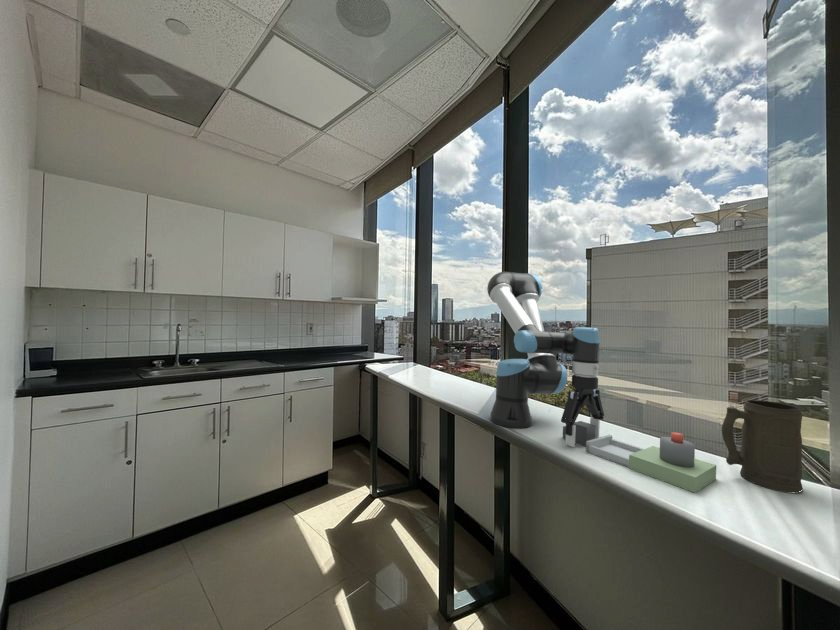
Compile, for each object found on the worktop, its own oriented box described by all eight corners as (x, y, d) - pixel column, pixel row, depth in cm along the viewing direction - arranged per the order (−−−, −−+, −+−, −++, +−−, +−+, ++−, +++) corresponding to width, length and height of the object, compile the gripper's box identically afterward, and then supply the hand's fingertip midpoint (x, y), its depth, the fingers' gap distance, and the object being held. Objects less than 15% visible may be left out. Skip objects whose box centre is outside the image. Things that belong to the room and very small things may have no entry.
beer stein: (775, 474, 87) (771, 398, 87) (821, 495, 76) (816, 409, 76) (713, 473, 88) (709, 398, 89) (749, 493, 77) (744, 408, 78)
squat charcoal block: (562, 438, 107) (563, 420, 107) (571, 436, 110) (572, 418, 110) (586, 447, 101) (586, 427, 101) (595, 444, 103) (595, 425, 103)
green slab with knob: (584, 451, 96) (586, 416, 97) (609, 443, 104) (610, 410, 104) (694, 492, 75) (696, 446, 75) (715, 479, 82) (717, 437, 82)
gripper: (573, 379, 95) (570, 453, 94) (617, 375, 108) (615, 439, 108) (550, 375, 101) (548, 444, 100) (594, 372, 115) (592, 432, 114)
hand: (582, 442), depth 104 cm, fingers open, 13 cm apart
